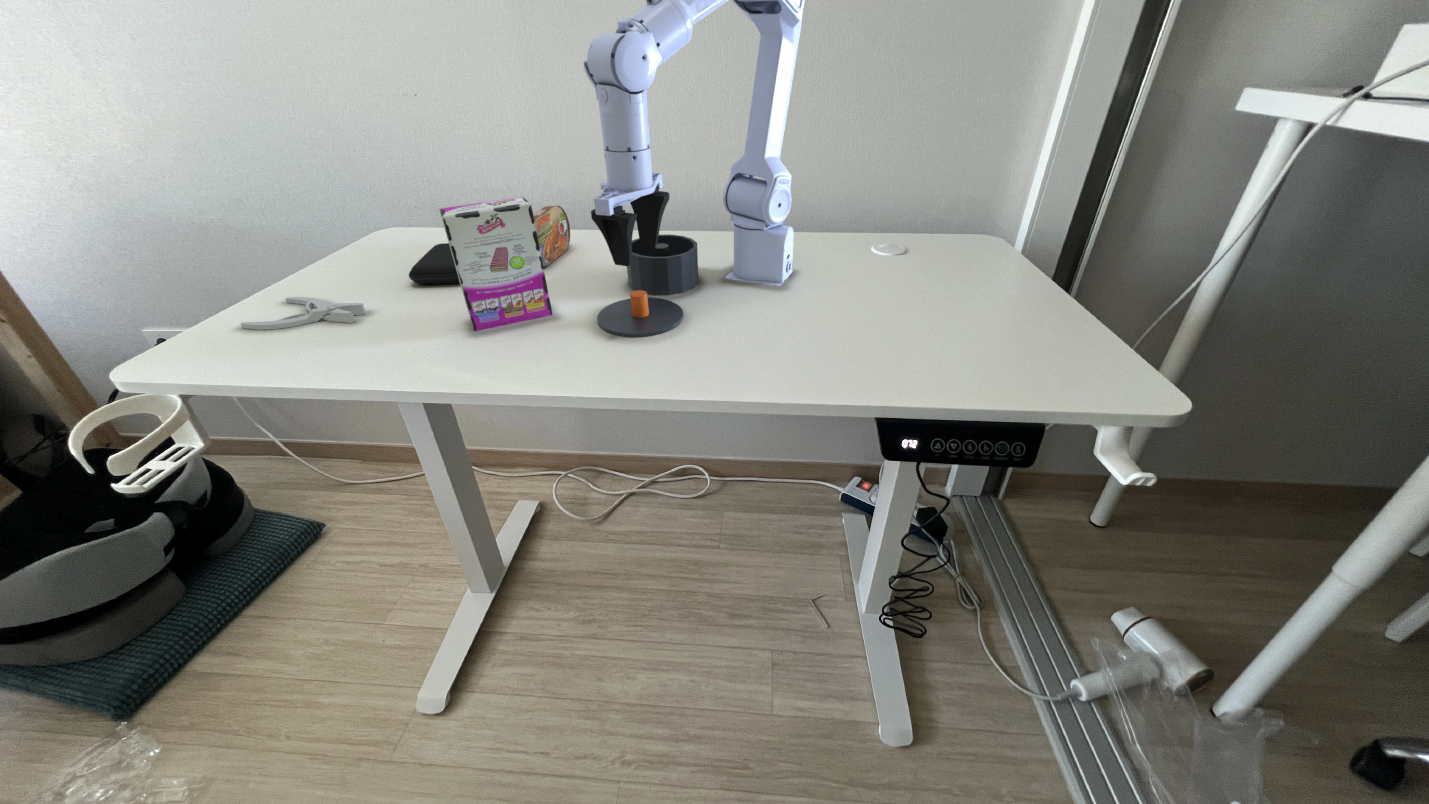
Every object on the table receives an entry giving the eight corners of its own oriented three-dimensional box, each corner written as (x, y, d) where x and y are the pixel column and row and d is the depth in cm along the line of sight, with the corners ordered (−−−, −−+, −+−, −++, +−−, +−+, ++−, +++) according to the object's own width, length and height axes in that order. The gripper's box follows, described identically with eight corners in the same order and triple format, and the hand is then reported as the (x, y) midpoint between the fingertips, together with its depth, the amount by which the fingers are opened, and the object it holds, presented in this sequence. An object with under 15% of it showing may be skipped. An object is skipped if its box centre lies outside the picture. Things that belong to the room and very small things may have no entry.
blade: (683, 277, 97) (682, 241, 93) (672, 289, 92) (670, 252, 89) (654, 274, 98) (652, 239, 95) (642, 286, 94) (639, 249, 90)
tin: (539, 273, 100) (530, 224, 96) (522, 272, 101) (512, 223, 96) (574, 245, 113) (567, 200, 108) (558, 244, 113) (551, 199, 109)
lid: (696, 310, 87) (695, 283, 85) (660, 347, 78) (658, 317, 75) (624, 299, 91) (621, 272, 88) (581, 332, 81) (577, 304, 79)
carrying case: (474, 285, 96) (496, 255, 108) (469, 268, 94) (492, 239, 107) (407, 288, 96) (437, 257, 108) (402, 270, 94) (433, 240, 106)
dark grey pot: (708, 276, 98) (707, 238, 94) (681, 302, 89) (679, 261, 86) (648, 268, 102) (645, 231, 98) (616, 293, 93) (612, 253, 89)
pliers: (286, 291, 91) (376, 294, 90) (290, 300, 92) (379, 304, 91) (236, 318, 83) (334, 322, 81) (241, 328, 84) (338, 332, 82)
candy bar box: (545, 306, 89) (524, 195, 80) (554, 318, 85) (533, 203, 76) (468, 321, 85) (437, 206, 76) (474, 335, 81) (442, 215, 72)
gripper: (626, 136, 79) (635, 236, 86) (566, 157, 68) (582, 269, 75) (674, 139, 77) (679, 241, 84) (619, 161, 66) (630, 276, 73)
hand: (636, 255), depth 80 cm, fingers open, 7 cm apart
